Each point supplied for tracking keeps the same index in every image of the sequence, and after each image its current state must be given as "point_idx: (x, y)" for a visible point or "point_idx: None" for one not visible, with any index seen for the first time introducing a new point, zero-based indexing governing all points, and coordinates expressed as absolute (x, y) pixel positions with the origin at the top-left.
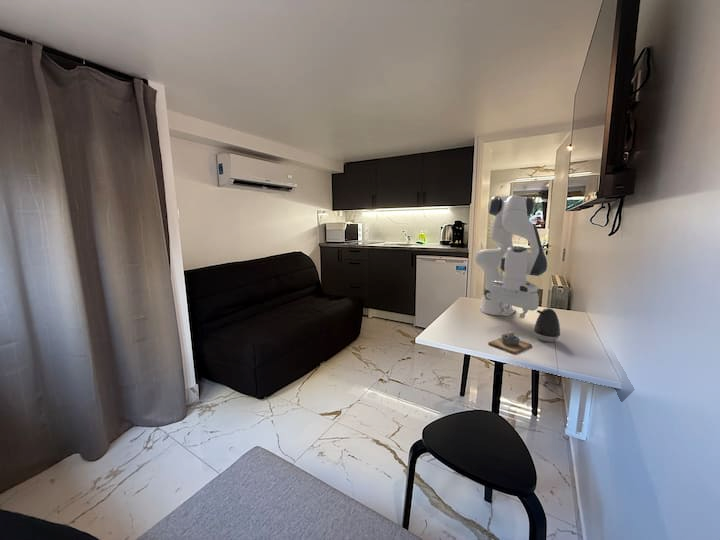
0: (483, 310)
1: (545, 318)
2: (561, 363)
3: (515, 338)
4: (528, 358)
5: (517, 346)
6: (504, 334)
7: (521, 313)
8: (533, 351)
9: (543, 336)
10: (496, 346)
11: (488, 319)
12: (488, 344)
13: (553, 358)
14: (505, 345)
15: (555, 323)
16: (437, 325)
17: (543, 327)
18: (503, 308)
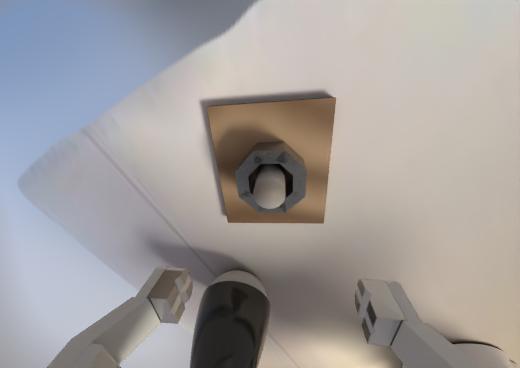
0: (498, 356)
1: (212, 355)
2: (110, 173)
3: (247, 185)
4: (164, 118)
5: (237, 167)
6: (303, 189)
7: (168, 314)
8: (200, 187)
9: (227, 278)
10: (291, 100)
11: (449, 311)
12: (332, 97)
13: (143, 187)
14: (267, 135)
15: (192, 342)
16: None
17: (221, 309)
18: (369, 337)
